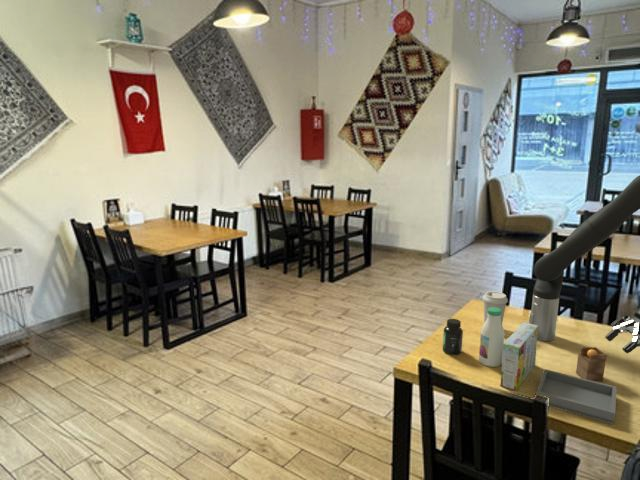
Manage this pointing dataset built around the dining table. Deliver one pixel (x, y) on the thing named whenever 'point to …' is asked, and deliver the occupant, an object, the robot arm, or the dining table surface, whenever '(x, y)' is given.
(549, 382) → the tray
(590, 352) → the ball
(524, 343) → the snack box
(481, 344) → the milk bottle
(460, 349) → the supplement bottle
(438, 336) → the dining table surface
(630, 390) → the dining table surface
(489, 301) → the coffee cup
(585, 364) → the wooden box
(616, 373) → the dining table surface
